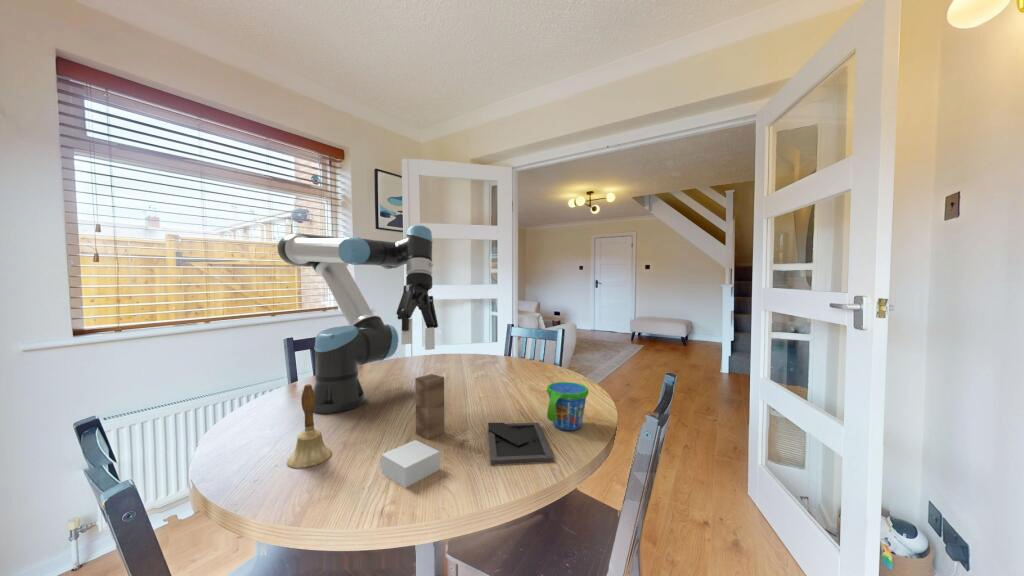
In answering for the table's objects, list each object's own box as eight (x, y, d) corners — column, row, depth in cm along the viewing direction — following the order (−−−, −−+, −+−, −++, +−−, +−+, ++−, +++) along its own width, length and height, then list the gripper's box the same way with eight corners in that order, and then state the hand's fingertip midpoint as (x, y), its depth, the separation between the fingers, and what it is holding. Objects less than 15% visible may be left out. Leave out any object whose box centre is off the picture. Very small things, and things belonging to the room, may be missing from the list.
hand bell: (323, 466, 71) (322, 389, 71) (279, 470, 70) (277, 392, 69) (337, 447, 79) (336, 378, 79) (297, 450, 78) (296, 380, 78)
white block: (381, 474, 69) (381, 454, 69) (415, 458, 75) (415, 439, 75) (405, 489, 64) (405, 468, 64) (439, 470, 70) (439, 451, 70)
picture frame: (488, 430, 90) (490, 467, 72) (488, 422, 90) (490, 458, 72) (538, 428, 91) (553, 464, 73) (538, 420, 91) (553, 455, 73)
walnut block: (415, 433, 86) (415, 378, 86) (432, 427, 90) (431, 373, 90) (427, 439, 83) (427, 381, 83) (444, 432, 87) (444, 377, 87)
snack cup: (568, 412, 100) (569, 377, 100) (600, 423, 93) (601, 385, 93) (532, 428, 90) (532, 389, 89) (565, 442, 82) (565, 399, 82)
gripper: (410, 259, 91) (408, 339, 85) (447, 285, 114) (449, 350, 108) (384, 263, 92) (381, 342, 86) (426, 288, 116) (426, 352, 110)
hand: (419, 347), depth 97 cm, fingers open, 13 cm apart
